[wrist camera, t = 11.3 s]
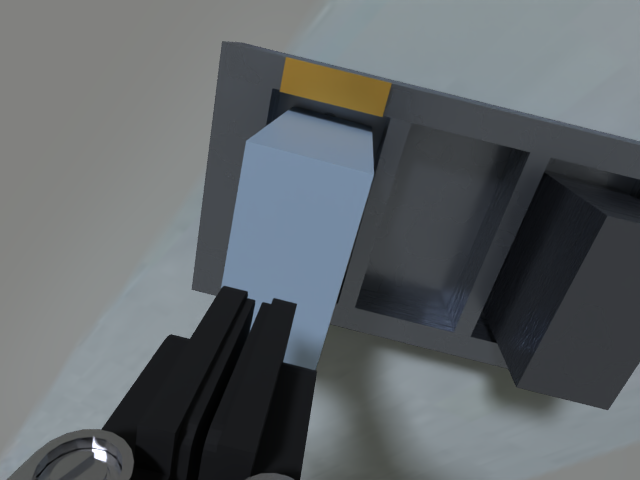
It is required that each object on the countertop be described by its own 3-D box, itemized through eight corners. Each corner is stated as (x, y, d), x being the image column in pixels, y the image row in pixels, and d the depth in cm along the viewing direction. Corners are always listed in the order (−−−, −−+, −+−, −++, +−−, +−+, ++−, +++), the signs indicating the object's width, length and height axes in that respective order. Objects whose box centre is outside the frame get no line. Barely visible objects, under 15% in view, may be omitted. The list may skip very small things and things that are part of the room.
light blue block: (292, 106, 19) (245, 140, 12) (372, 127, 19) (375, 174, 12) (263, 248, 22) (210, 348, 15) (332, 267, 22) (314, 375, 15)
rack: (241, 42, 19) (180, 37, 13) (693, 154, 19) (851, 204, 13) (211, 263, 24) (154, 340, 17) (576, 355, 23) (651, 464, 17)
